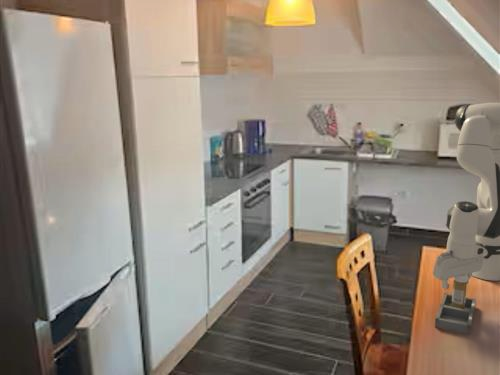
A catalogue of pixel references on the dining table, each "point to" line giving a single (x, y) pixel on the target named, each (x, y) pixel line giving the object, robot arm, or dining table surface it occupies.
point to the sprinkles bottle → (459, 291)
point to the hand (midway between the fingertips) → (455, 286)
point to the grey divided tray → (455, 315)
